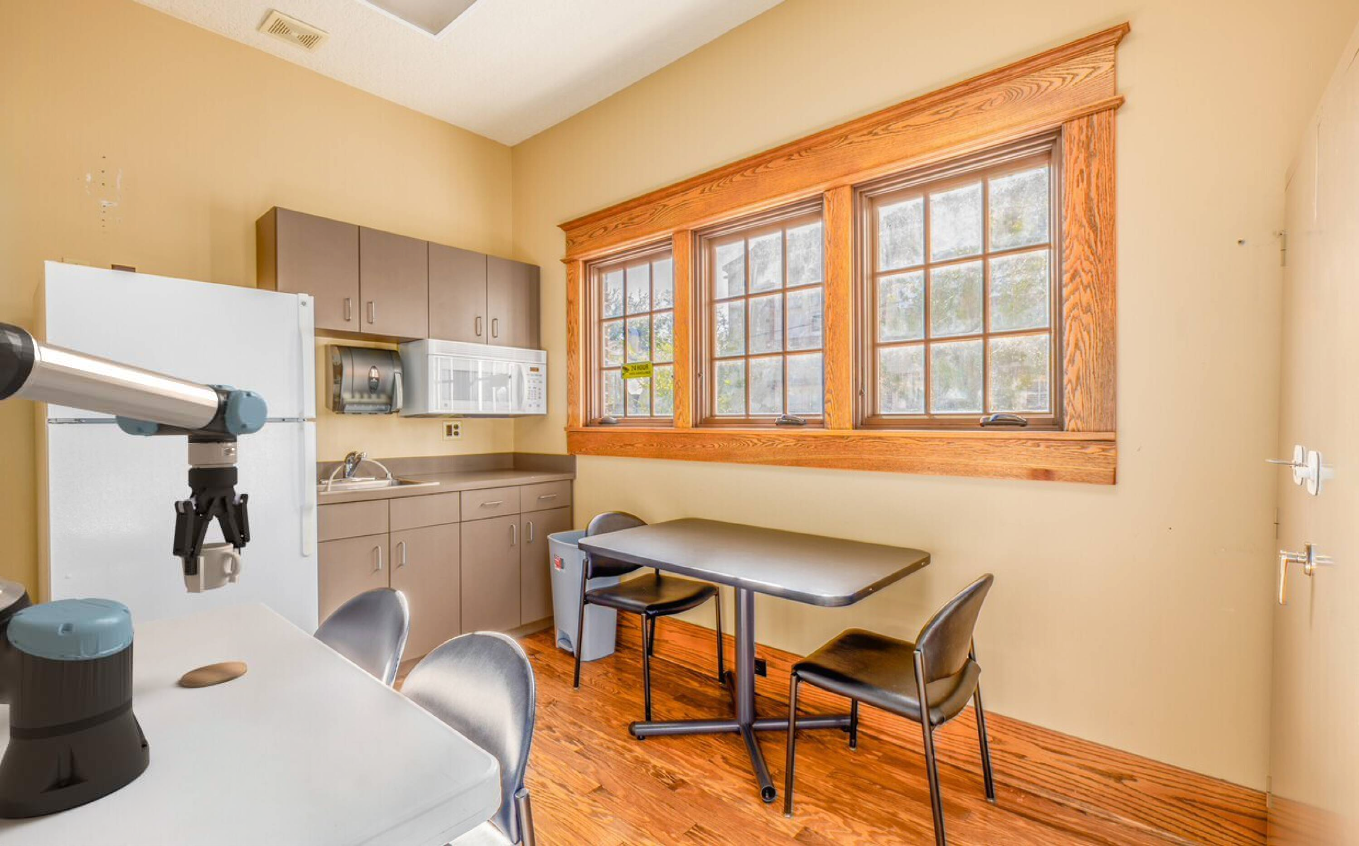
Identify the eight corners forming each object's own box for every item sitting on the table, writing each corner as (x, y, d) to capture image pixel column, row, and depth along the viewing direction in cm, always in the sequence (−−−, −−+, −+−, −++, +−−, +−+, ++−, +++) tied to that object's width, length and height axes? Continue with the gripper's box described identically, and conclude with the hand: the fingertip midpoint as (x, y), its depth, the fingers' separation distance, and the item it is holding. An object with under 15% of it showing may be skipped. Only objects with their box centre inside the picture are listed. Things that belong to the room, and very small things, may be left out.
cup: (256, 583, 121) (256, 542, 121) (222, 594, 113) (222, 550, 113) (206, 582, 122) (206, 541, 122) (169, 593, 114) (168, 549, 114)
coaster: (214, 688, 111) (214, 683, 111) (166, 685, 113) (166, 681, 113) (259, 666, 121) (259, 662, 121) (214, 664, 123) (214, 660, 123)
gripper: (181, 469, 107) (182, 601, 107) (272, 462, 127) (272, 574, 126) (144, 469, 108) (144, 600, 108) (239, 463, 128) (240, 574, 128)
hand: (213, 586), depth 117 cm, fingers closed on cup, 7 cm apart
